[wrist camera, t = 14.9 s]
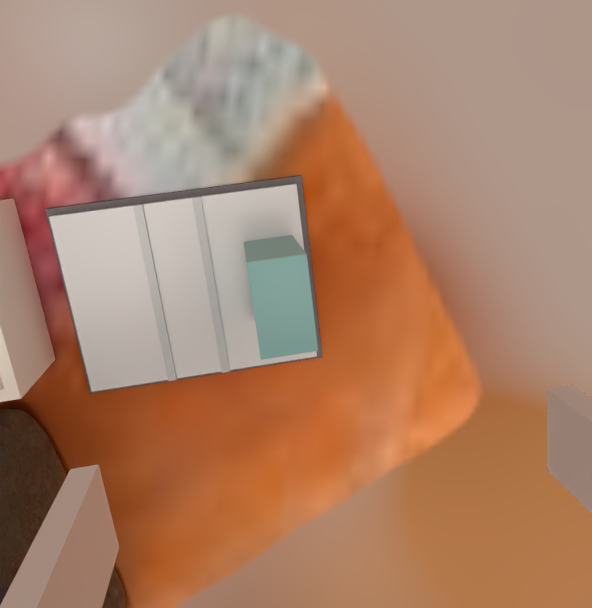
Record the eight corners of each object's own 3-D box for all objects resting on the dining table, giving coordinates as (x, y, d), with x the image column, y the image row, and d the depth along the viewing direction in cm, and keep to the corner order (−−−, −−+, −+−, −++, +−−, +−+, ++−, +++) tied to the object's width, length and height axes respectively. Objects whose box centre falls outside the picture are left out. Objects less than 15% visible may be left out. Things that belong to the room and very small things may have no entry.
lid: (94, 386, 41) (58, 446, 33) (53, 215, 38) (0, 232, 29) (315, 351, 43) (336, 401, 34) (294, 183, 39) (312, 190, 31)
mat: (91, 391, 42) (90, 393, 42) (46, 208, 38) (45, 209, 38) (321, 355, 43) (322, 357, 43) (300, 175, 40) (301, 175, 39)
